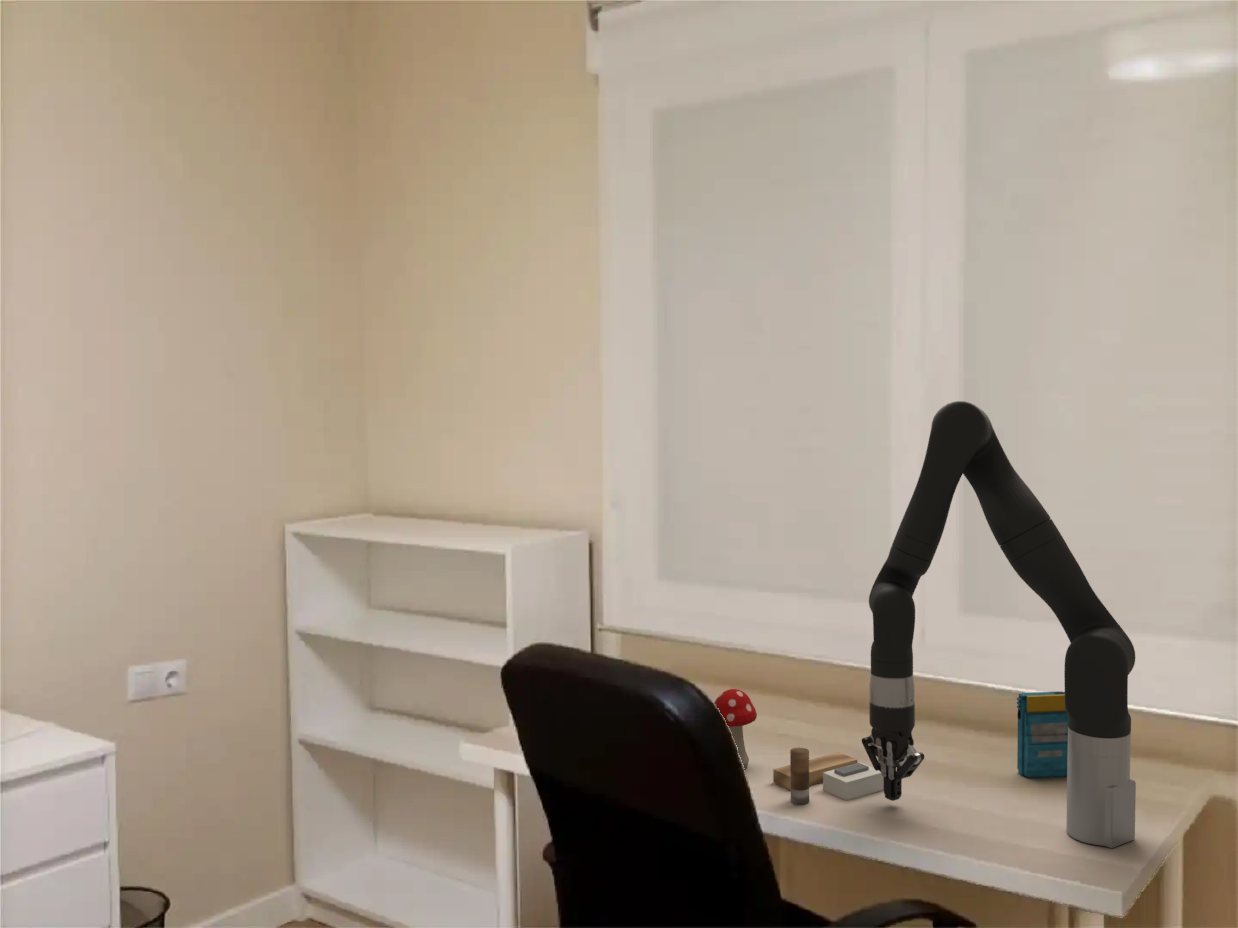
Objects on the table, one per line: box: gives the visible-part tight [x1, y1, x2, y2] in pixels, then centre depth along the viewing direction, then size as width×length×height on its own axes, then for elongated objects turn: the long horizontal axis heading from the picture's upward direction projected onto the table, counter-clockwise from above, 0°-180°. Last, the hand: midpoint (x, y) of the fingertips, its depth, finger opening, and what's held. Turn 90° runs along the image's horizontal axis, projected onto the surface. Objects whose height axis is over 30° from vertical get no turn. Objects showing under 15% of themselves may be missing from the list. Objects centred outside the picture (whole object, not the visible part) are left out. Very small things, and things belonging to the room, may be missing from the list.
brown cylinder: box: [789, 747, 810, 806], centre depth 198 cm, size 3×3×9 cm
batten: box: [772, 752, 858, 791], centre depth 210 cm, size 5×16×2 cm, turn 122°
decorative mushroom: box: [713, 688, 758, 770], centre depth 215 cm, size 10×9×15 cm
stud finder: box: [822, 762, 884, 801], centre depth 203 cm, size 6×9×4 cm, turn 122°
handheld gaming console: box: [1016, 690, 1068, 779], centre depth 208 cm, size 10×4×15 cm, turn 94°
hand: (892, 798), depth 195 cm, fingers closed
